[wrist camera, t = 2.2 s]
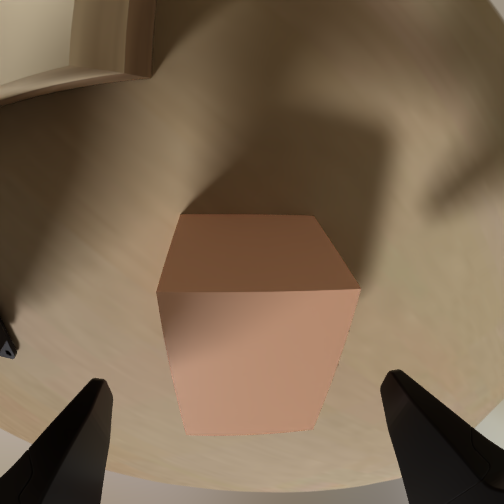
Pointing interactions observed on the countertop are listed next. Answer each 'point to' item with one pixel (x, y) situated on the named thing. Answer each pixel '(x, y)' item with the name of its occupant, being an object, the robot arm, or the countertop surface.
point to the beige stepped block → (72, 44)
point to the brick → (253, 321)
